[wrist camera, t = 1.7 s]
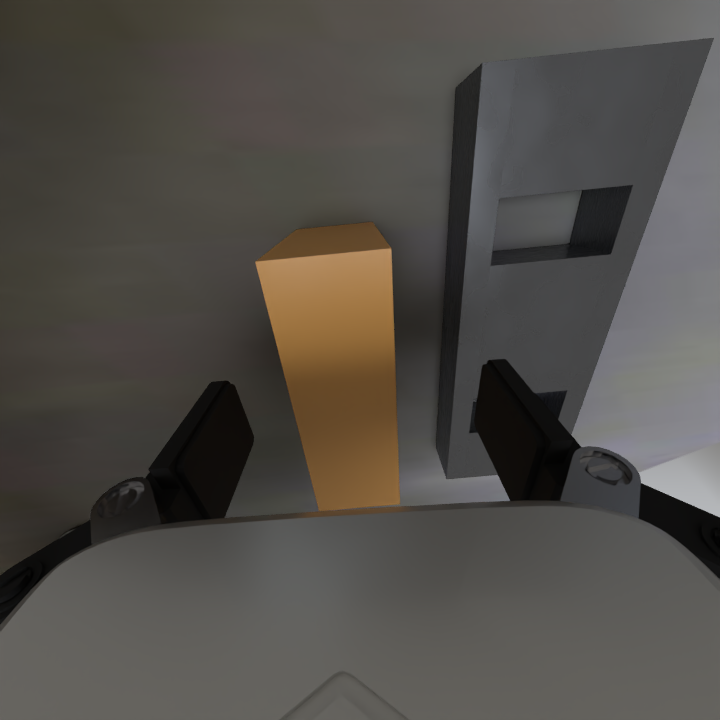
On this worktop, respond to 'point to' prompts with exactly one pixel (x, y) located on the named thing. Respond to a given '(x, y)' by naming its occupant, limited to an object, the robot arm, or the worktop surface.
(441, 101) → the worktop surface
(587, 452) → the robot arm
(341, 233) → the clip
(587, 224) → the rail
